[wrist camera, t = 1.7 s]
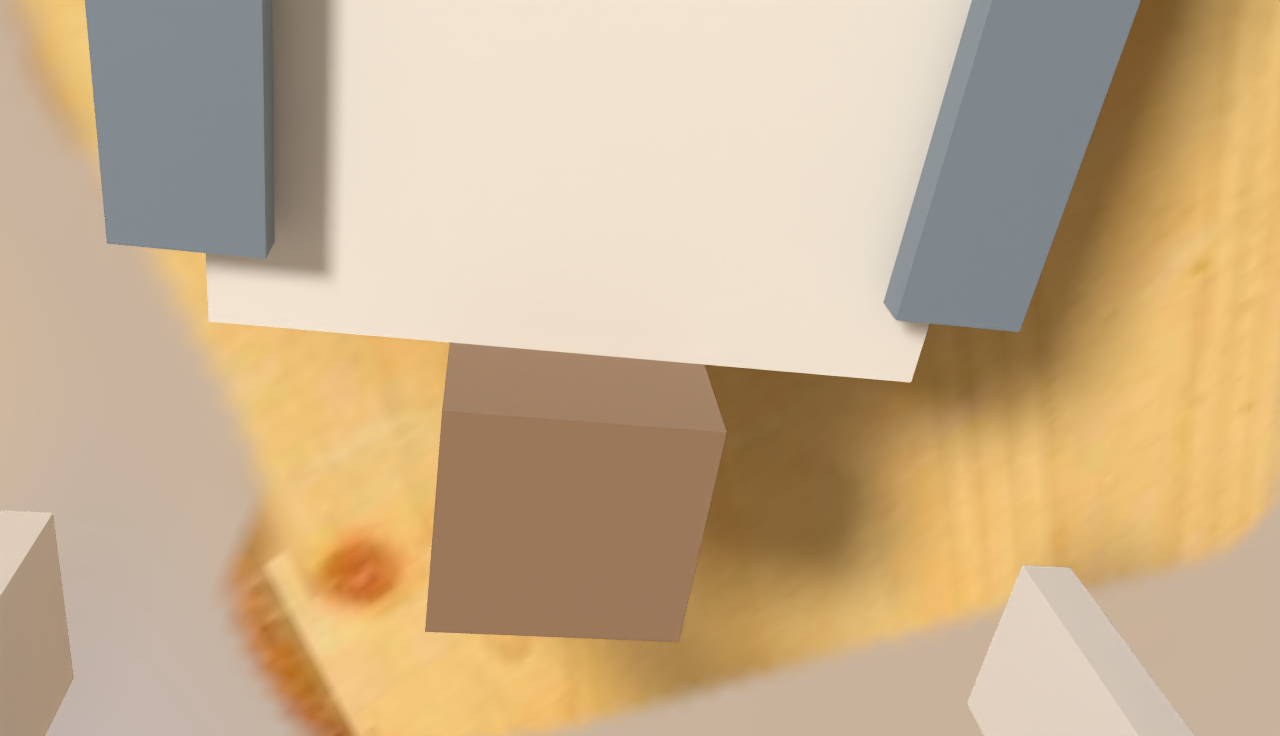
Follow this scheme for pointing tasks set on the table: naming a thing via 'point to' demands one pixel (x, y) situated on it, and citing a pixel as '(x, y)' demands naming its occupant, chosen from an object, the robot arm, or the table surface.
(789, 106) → the lid
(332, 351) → the table surface
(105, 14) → the grey open box
